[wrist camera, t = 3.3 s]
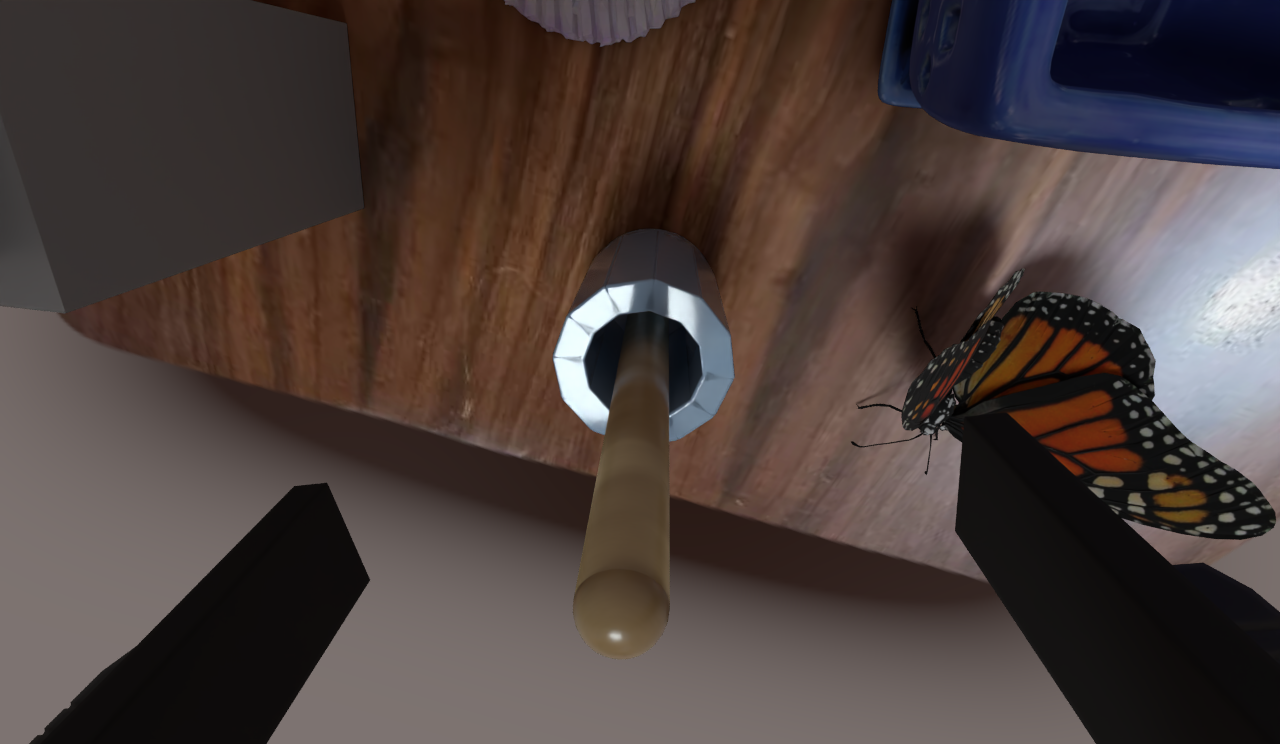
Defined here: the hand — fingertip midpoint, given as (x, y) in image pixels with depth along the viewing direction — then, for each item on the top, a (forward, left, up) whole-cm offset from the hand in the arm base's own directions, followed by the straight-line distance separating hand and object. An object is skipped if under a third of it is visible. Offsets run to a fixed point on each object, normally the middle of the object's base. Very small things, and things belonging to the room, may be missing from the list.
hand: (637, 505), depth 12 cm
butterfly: (+13, +2, -15) cm, 20 cm away
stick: (0, 0, -14) cm, 14 cm away
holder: (0, 0, -15) cm, 15 cm away
